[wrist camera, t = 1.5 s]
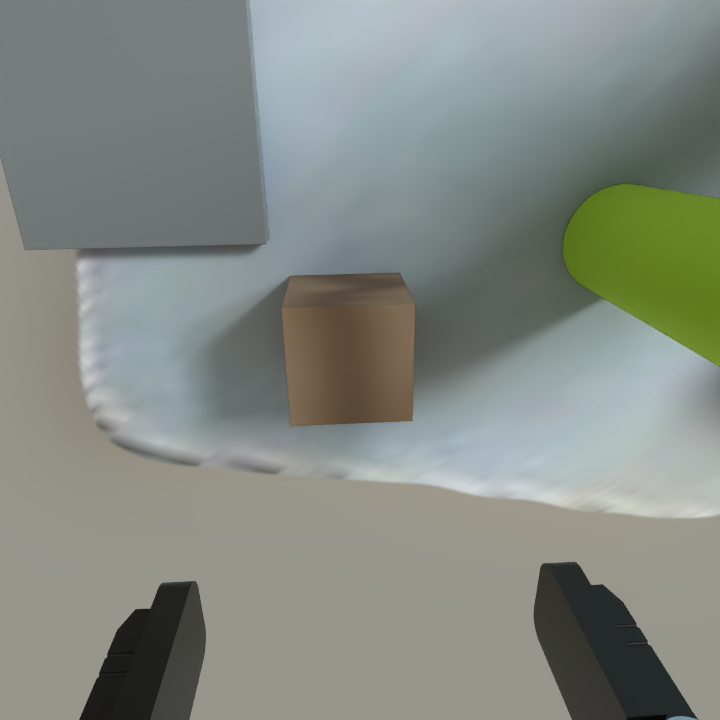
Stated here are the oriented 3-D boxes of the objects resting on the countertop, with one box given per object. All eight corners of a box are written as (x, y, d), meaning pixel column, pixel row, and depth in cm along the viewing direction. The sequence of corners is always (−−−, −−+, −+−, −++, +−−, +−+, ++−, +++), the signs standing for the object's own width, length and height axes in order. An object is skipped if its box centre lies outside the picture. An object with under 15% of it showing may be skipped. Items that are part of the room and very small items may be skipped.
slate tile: (246, -35, 23) (242, -43, 22) (268, 239, 28) (266, 243, 27) (-34, -34, 23) (-52, -42, 22) (37, 245, 28) (24, 250, 26)
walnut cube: (398, 272, 29) (415, 304, 24) (397, 371, 32) (412, 420, 26) (290, 275, 29) (281, 308, 24) (297, 374, 31) (290, 425, 26)
